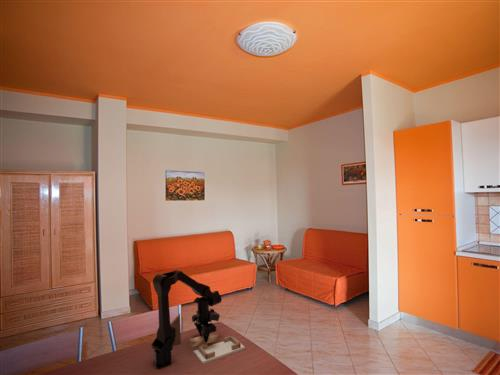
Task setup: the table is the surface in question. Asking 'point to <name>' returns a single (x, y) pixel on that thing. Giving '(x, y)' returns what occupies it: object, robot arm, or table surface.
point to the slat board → (218, 349)
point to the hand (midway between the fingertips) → (204, 339)
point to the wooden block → (177, 329)
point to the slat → (201, 341)
